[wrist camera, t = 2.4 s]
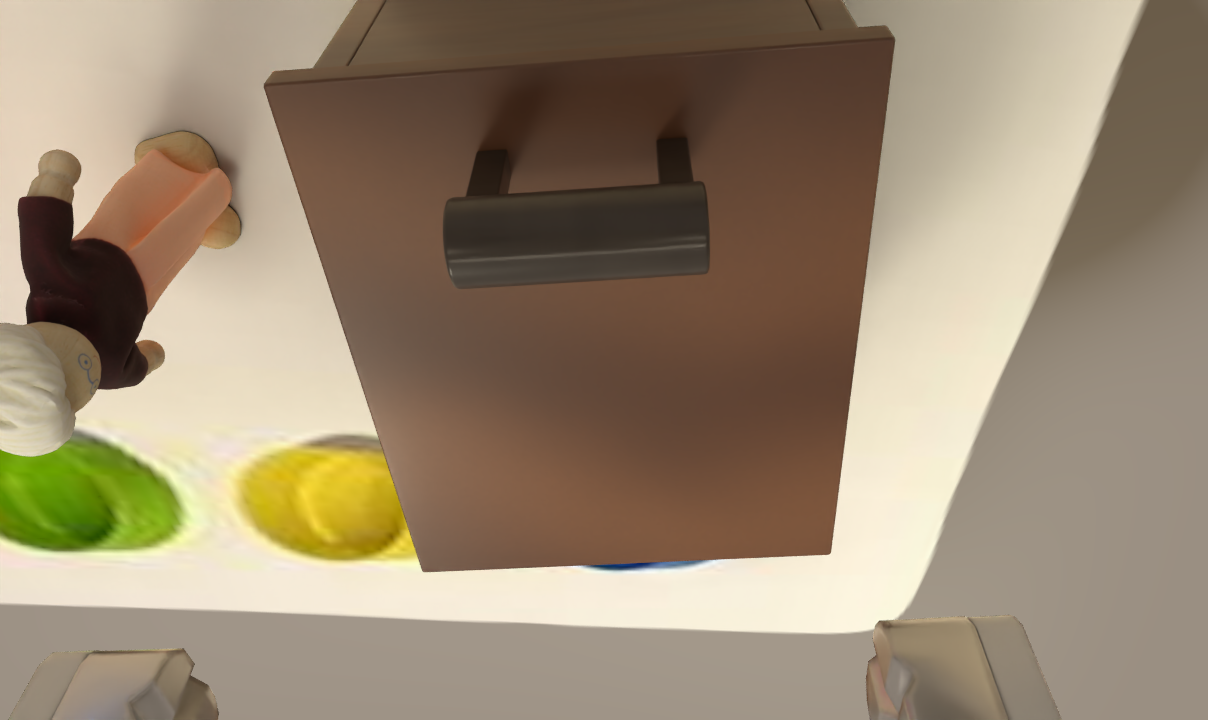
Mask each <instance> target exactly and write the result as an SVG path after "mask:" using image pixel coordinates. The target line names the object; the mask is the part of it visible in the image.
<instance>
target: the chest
mask: <svg viewBox="0 0 1208 720" xmlns="http://www.w3.org/2000/svg"><path fill="white" fill-rule="evenodd" d="M844 28H857V25H856V23H855V21H854V20H853V18H852V16H851V15H850V13H849V11H848V10H847V8H846V6H845V4H844V3H843V1H842V0H357V2H356V3H355V5H354V6H353V8H352V9H351V11H350V12H349V14H348V15H347V17H346V18H345V20H344V21H343V23H342V24H341V26H340V27H339V29H338V31H337V32H336V34H335V35H334V37H333V38H332V40H331V41H330V43H329V44H328V46H327V47H326V49H325V50H324V52H323V53H322V55H321V57H320V58H319V60H318V61H317V63H316V64H315V66H314V67H313V68H323V67H337V66H350V65H363V64H377V63H390V62H403V61H417V60H430V59H443V58H457V57H470V56H484V55H497V54H510V53H524V52H537V51H550V50H564V49H577V48H590V47H604V46H617V45H630V44H644V43H657V42H670V41H684V40H697V39H710V38H724V37H737V36H750V35H764V34H777V33H790V32H804V31H817V30H830V29H844Z"/></svg>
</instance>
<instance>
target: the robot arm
mask: <svg viewBox="0 0 1208 720" xmlns="http://www.w3.org/2000/svg"><path fill="white" fill-rule="evenodd" d="M873 643H874V647H875V651H876V656H875V657H873V658H872V659H871V660H869V661H868V668H867V675H866V690H867V705H868V711H869V717H870V720H1062V719H1061V717H1060V714H1059V711H1058V709H1057V707H1056V705H1055V702H1054V699H1053V697H1052V695H1051V692H1050V690H1049V687H1048V685H1047V683H1046V681H1045V678H1044V675H1043V673H1042V671H1041V668H1040V666H1039V663H1038V661H1037V659H1036V656H1035V654H1034V652H1033V649H1032V646H1031V644H1030V642H1029V639H1028V637H1027V635H1026V632H1025V630H1024V627H1023V625H1022V624H1021V623H1020V622H1019V621H1018V620H1017V618H1016V617H1014V616H1011V615H1002V616H982V617H965V616H957V617H942V618H941V617H939V618H922V619H903V620H886V621H879V622H878V623H877V624H876V625H875V629H874V634H873ZM194 665H195V664H194V662H193V661H192V659H191V658H190V657H189V655H188V654H187V653H186V651H185V650H184V649H152V650H119V651H98V650H96V651H74V652H53V653H52V654H51V655H50V656H48V657H47V658H46V659H45V660H44V661H43V662H42V663H41V664H40V665H39V666H38V667H37V669H36V671H35V673H34V674H33V676H32V678H31V680H30V682H29V683H28V685H27V687H26V689H25V690H24V692H23V694H22V696H21V697H20V699H19V701H18V703H17V705H16V706H15V708H14V710H13V712H12V714H11V715H10V717H9V719H8V720H218V715H219V712H218V708H217V703H216V698H215V696H214V694H213V693H212V691H211V689H210V687H209V686H208V685H207V684H205V683H204V682H202V681H200V680H198V679H196V678H194V677H192V676H191V672H192V670H193V667H194Z"/></svg>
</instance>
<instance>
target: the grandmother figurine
mask: <svg viewBox="0 0 1208 720" xmlns="http://www.w3.org/2000/svg"><path fill="white" fill-rule="evenodd" d="M135 163H136V165H135V166H134V167H133V168H132V169H131V170H130V171H128V172H127V173H126V174H125V175H124V176H122V177H121V178H120V179H119V180H118V181H117V182H116V183H115V185H114V186H113V188H112V189H111V191H110V192H109V193H108V194H107V195H106V197H105V198H104V199H103V201H102V202H101V204H100V206H99V208H98V209H97V211H96V213H95V215H94V216H93V217H92V219H91V220H90V222H89V223H88V224H87V225H86V226H85V227H84V228H83V230H82V231H81V232H80V233H79V234H78V235H76V236H75V237H74V238H73V239H72V236H73V224H74V221H73V208H72V201H73V197H74V190H73V186H74V185H75V183H76V182H77V181H78V180H79V177H80V174H81V165H80V163H79V161H78V159H77V158H76V157H75V156H74V155H72V154H71V153H69V152H66V151H63V150H52V151H49V152H47V153H45V154H44V155H43V156H42V157H41V158H40V161H39V165H38V169H39V176H38V177H36V178H35V179H34V180H33V181H32V183H31V186H30V189H29V192H28V194H27V196H26V197H22V198H20V199H19V203H18V217H19V228H20V248H21V260H22V265H23V270H24V273H25V276H26V279H27V281H28V283H29V285H30V294H29V297H28V299H27V304H26V316H27V324H26V325H16V324H10V323H0V449H1V450H3V451H6V452H9V453H12V454H16V455H21V456H38V455H43V454H47V453H50V452H52V451H55V450H57V449H58V448H59V447H60V446H62V445H63V444H64V443H65V442H66V441H68V440H69V438H70V437H71V436H72V433H73V430H74V426H75V420H76V417H75V413H76V412H77V411H78V410H80V409H81V408H83V407H84V406H85V405H86V404H87V403H88V402H89V401H90V400H91V398H92V397H93V395H94V394H95V392H96V390H97V389H105V390H107V389H118V388H124V387H131V386H135V385H138V384H139V383H140V382H141V381H142V380H143V379H144V378H145V376H147V375H148V374H149V373H151V372H152V371H153V370H155V369H157V368H159V367H160V366H161V365H162V364H163V362H164V359H165V353H164V350H163V348H162V346H161V345H160V344H158V343H157V342H155V341H151V340H143V341H139V342H137V343H135V341H136V339H137V337H138V336H139V333H140V331H141V329H142V326H143V322H144V320H145V318H146V316H147V315H148V314H149V313H150V311H151V310H152V309H153V307H154V306H155V304H156V302H157V300H158V299H159V297H160V296H161V294H162V293H163V292H164V290H165V289H166V288H167V286H168V285H169V284H170V282H171V281H172V280H173V279H174V277H175V276H176V275H177V274H178V273H179V271H180V270H181V269H182V268H183V267H184V265H185V264H186V263H187V262H188V261H189V259H190V258H191V257H192V256H193V255H194V253H195V252H196V250H197V249H198V247H199V246H200V245H203V246H206V247H208V248H214V249H221V248H226V247H228V246H231V245H232V244H234V243H235V242H236V241H237V240H238V238H239V236H240V229H241V226H240V220H239V218H238V216H237V214H236V213H235V212H234V211H233V209H231V208H230V207H229V206H228V204H229V203H230V201H231V197H232V187H231V183H230V181H229V179H228V177H227V176H226V174H225V173H224V172H223V171H222V170H221V169H219V168H218V162H217V160H216V157H215V154H214V152H213V150H212V148H211V147H210V146H209V144H208V143H207V142H206V141H205V140H204V139H202V138H201V137H199V136H198V135H196V134H193V133H189V132H186V131H179V132H174V133H170V134H166V135H163V136H160V137H156V138H152V139H148V140H145V141H143V142H141V143H140V144H139V145H138V146H137V147H136V149H135Z"/></svg>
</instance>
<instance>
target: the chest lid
mask: <svg viewBox="0 0 1208 720" xmlns="http://www.w3.org/2000/svg"><path fill="white" fill-rule="evenodd" d="M894 46H895V38H894V36H893V34H892V33H891V31H890V30H889V28H888V27H887V26H885V25H884V26H870V27H857V28H844V29H830V30H817V31H804V32H790V33H777V34H764V35H750V36H737V37H724V38H710V39H697V40H684V41H670V42H657V43H644V44H630V45H617V46H604V47H590V48H577V49H564V50H550V51H537V52H524V53H510V54H497V55H484V56H470V57H457V58H443V59H430V60H417V61H403V62H390V63H377V64H363V65H350V66H337V67H323V68H310V69H297V70H283V71H274V72H272V74H271V75H270V77H269V78H268V79H267V81H266V82H265V83H264V89H265V92H266V95H267V98H268V102H269V105H270V108H271V111H272V114H273V117H274V120H275V123H276V126H277V129H278V132H279V135H280V138H281V141H282V144H283V147H284V150H285V153H286V156H287V159H288V163H289V166H290V169H291V172H292V175H293V178H294V181H295V184H296V187H297V190H298V193H299V196H300V199H301V202H302V205H303V208H304V211H305V214H306V217H307V220H308V224H309V227H310V230H311V233H312V236H313V239H314V242H315V245H316V248H317V251H318V254H319V257H320V260H321V263H322V266H323V269H324V272H325V275H326V278H327V282H328V285H329V288H330V291H331V294H332V297H333V300H334V303H335V306H336V309H337V312H338V315H339V318H340V321H341V324H342V327H343V330H344V333H345V336H346V339H347V343H348V346H349V349H350V352H351V355H352V358H353V361H354V364H355V367H356V370H357V373H358V376H359V379H360V382H361V385H362V388H363V391H364V394H365V397H366V400H367V404H368V407H369V410H370V413H371V416H372V419H373V422H374V425H375V428H376V431H377V434H378V437H379V440H380V443H381V446H382V449H383V452H384V455H385V458H386V461H387V465H388V468H389V471H390V474H391V477H392V480H393V483H394V486H395V489H396V492H397V495H398V498H399V501H400V504H401V507H402V510H403V513H404V516H405V519H406V522H407V526H408V529H409V532H410V535H411V538H412V541H413V544H414V547H415V550H416V553H417V556H418V559H419V562H420V565H421V568H422V571H423V572H441V571H464V570H487V569H510V568H533V567H556V566H579V565H602V564H625V563H648V562H671V561H694V560H716V559H739V558H762V557H785V556H808V555H829V554H830V553H831V548H832V540H833V532H834V524H835V516H836V508H837V500H838V492H839V484H840V476H841V468H842V460H843V452H844V444H845V436H846V428H847V420H848V412H849V404H850V396H851V388H852V381H853V373H854V365H855V357H856V349H857V341H858V333H859V325H860V317H861V309H862V301H863V293H864V285H865V277H866V269H867V261H868V253H869V245H870V237H871V229H872V221H873V213H874V205H875V197H876V189H877V181H878V173H879V165H880V157H881V150H882V142H883V134H884V126H885V118H886V110H887V102H888V94H889V86H890V78H891V70H892V62H893V54H894Z"/></svg>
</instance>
